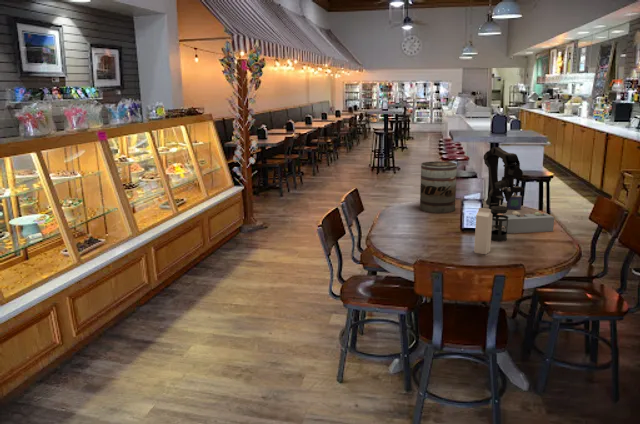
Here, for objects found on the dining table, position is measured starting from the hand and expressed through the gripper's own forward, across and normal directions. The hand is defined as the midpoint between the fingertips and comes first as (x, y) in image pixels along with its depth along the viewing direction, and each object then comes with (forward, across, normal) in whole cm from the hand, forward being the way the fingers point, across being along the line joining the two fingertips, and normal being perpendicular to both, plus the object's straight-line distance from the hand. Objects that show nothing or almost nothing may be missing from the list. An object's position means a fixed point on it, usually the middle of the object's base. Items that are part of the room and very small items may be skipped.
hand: (507, 201), depth 304 cm
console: (+12, +19, -6) cm, 23 cm away
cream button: (+7, +13, -4) cm, 15 cm away
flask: (+12, -21, +24) cm, 34 cm away
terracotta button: (+7, +14, -15) cm, 21 cm away
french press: (+12, +26, -28) cm, 40 cm away
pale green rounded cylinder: (+7, +19, +6) cm, 21 cm away
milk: (+12, +41, -49) cm, 65 cm away
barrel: (+12, -42, -20) cm, 48 cm away
